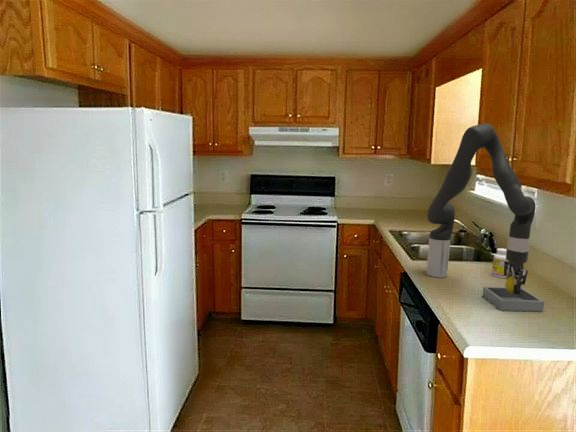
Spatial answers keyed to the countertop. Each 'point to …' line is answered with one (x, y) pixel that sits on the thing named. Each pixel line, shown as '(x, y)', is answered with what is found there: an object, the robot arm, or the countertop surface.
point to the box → (512, 300)
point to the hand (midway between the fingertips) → (512, 291)
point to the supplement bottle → (499, 263)
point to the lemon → (510, 285)
